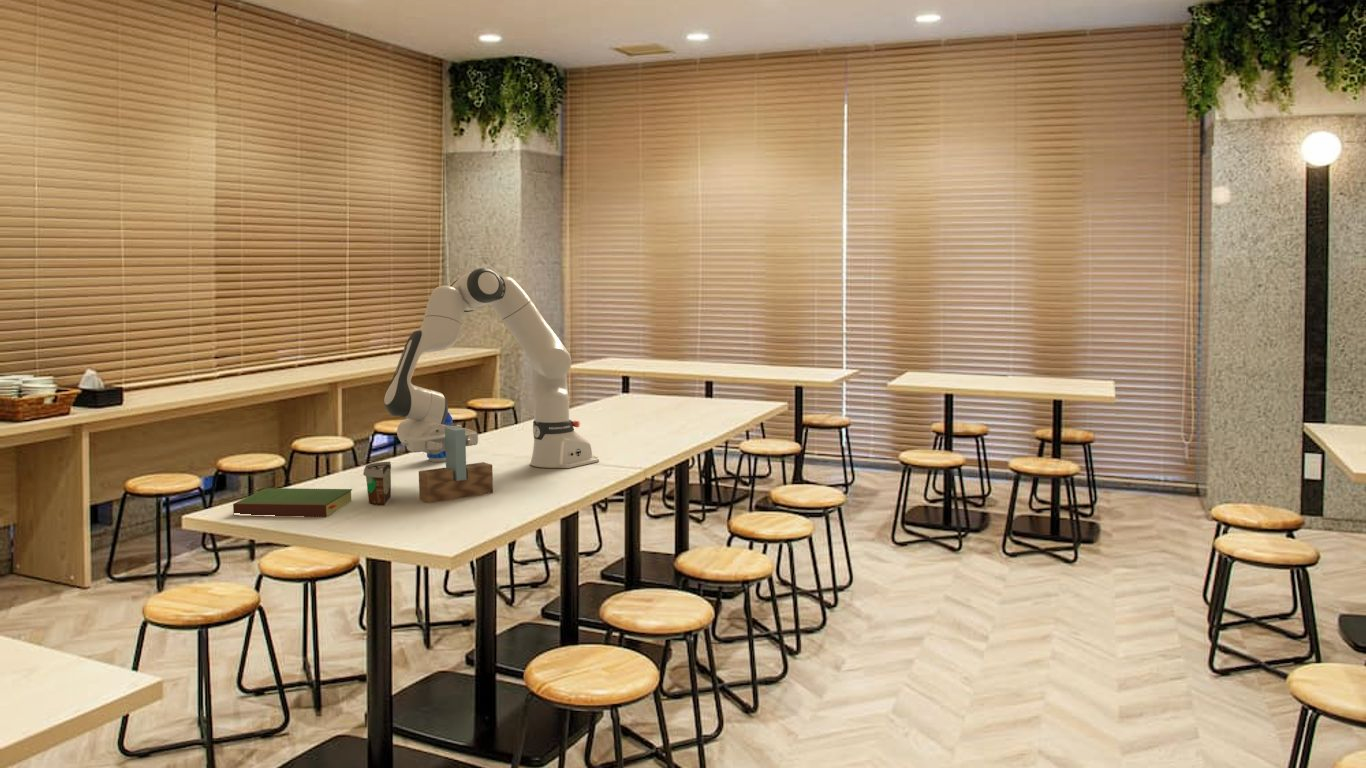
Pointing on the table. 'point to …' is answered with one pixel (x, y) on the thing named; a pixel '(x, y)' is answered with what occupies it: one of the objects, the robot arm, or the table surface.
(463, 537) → the table surface
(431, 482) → the notched wooden block
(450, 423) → the beer can
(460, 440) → the sage green pillar
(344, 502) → the hardcover book
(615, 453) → the table surface
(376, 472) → the food container
